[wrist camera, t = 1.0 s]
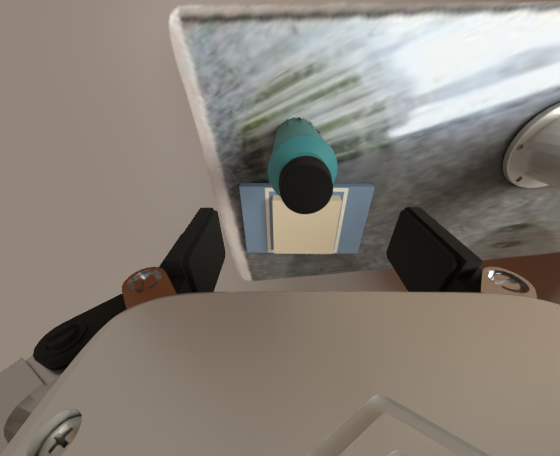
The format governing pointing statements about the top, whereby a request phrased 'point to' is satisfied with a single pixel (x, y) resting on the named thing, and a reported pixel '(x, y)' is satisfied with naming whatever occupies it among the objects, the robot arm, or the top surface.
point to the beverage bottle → (302, 167)
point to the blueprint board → (349, 221)
